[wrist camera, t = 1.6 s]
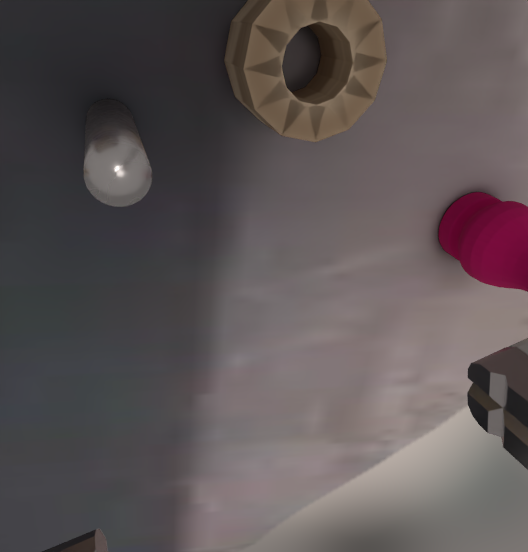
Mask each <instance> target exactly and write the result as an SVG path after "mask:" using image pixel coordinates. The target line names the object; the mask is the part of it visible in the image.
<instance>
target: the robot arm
mask: <svg viewBox="0 0 528 552" xmlns="http://www.w3.org/2000/svg"><path fill="white" fill-rule="evenodd" d="M468 378H469V379H470V380H471V381H472V382H473V384H472V386H471V388H470V389H469V391H468V406H469V408H470V410H471V413H472V415H473V417H474V418H475V420H476V421H477V422H478V424H479V425H480V426H481V427H482V428H483V429H484V430H485V431H486V432H488V433H490V434H493V435H497V436H499V437H501V438H502V443H503V447H504V448H505V449H506V450H507V451H508V452H509V453H510V454H511V455H512V456H513V457H514V458H515V459H516V460H518V461H519V462H520V463H521V464H522V465H523V466H524V467H525V468H526V469H527V470H528V338H527V339H525V340H522V341H520V342H518V343H516V344H513V345H511V346H509V347H506V348H503V349H501V350H499V351H497V352H495V353H493V354H490V355H488V356H486V357H484V358H482V359H479V360H477V361H475V362H473V363H471V365H470V366H469V368H468ZM42 552H108V551H107V541H106V538H105V536H104V535H103V533H102V532H101V530H100V529H96V530H93V531H91V532H89V533H86V534H84V535H81V536H79V537H76V538H74V539H72V540H69V541H67V542H64V543H62V544H59V545H57V546H55V547H52V548H50V549H47V550H45V551H42Z"/></svg>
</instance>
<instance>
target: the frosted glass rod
mask: <svg viewBox="0 0 528 552" xmlns="http://www.w3.org/2000/svg"><path fill="white" fill-rule="evenodd" d="M84 180H85V184H86V186H87V188H88V190H89V191H90V193H91V194H92V195H93V196H94V197H95V198H96V199H98V200H99V201H101V202H102V203H105V204H107V205H110V206H115V207H124V206H129V205H132V204H134V203H136V202H138V201H139V200H141V199H142V198H143V197H144V196H145V195H146V193H147V192H148V190H149V188H150V186H151V182H152V170H151V166H150V163H149V161H148V158H147V155H146V152H145V150H144V147H143V144H142V141H141V139H140V136H139V133H138V130H137V128H136V125H135V122H134V119H133V117H132V114H131V112H130V110H129V109H128V108H127V107H126V106H125V105H124V104H123V103H121V102H119V101H117V100H114V99H102V100H99V101H97V102H95V103H94V104H93V105H92V106H91V107H90V108H89V110H88V112H87V116H86V133H85V154H84Z"/></svg>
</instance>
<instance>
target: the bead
mask: <svg viewBox="0 0 528 552" xmlns="http://www.w3.org/2000/svg"><path fill="white" fill-rule="evenodd" d="M305 26H309V27H310V29H311V30H312V31H313V32H314V33H315V35H316V36H317V37H318V41H319V46H320V51H321V59H320V63H319V67H318V71H317V74H316V75H315V76H314V77H313V79H312V80H311V81H310V82H309V83H308V85H307V86H306V87H304V88H302V89H299V90H296V91H294V92H290V91H289V90H288V89H287V87H286V84H285V79H284V75H283V71H282V62H283V58H284V54H285V49H286V45H287V44H288V43H289V41H290V40H291V39H292V38H293V36H294V35H295V34H296V33H297V32H298V30H299V29H300V28H302V27H305ZM224 62H225V66H226V69H227V72H228V76H229V79H230V82H231V86H232V89H233V92H234V96H235V97H236V98H237V99H238V100H239V101H240V102H241V103H242V104H243V105H244V106H245V107H246V108H247V109H248V110H249V111H250V112H251V113H252V114H253V115H254V116H255V117H256V118H257V119H258V120H260V121H261V122H263V123H264V124H265V125H267V126H268V127H270V128H271V129H273V130H274V131H276V132H277V133H278V134H280V135H281V136H286V137H291V138H296V139H301V140H307V141H312V142H318V141H320V140H323V139H325V138H328V137H330V136H333V135H336V134H338V133H341V132H343V131H346V130H349V129H350V128H351V126H352V125H353V124H354V123H355V122H356V121H357V120H358V119H359V117H360V116H361V115H362V114H363V113H364V112H365V111H366V109H367V108H368V107H369V106H370V105H371V104H372V103H373V102H374V100H375V98H376V94H377V91H378V88H379V85H380V82H381V78H382V75H383V72H384V69H385V65H386V62H387V57H386V49H385V41H384V34H383V26H382V19H381V18H380V16H379V15H378V13H377V12H376V11H375V9H374V8H373V7H372V5H371V4H370V3H369V1H368V0H248V1H247V2H246V3H245V5H244V6H243V7H242V8H241V10H240V11H239V12H238V13H237V15H236V16H235V17H234V18H233V20H232V21H231V26H230V31H229V37H228V42H227V48H226V53H225V58H224Z"/></svg>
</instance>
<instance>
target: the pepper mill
mask: <svg viewBox="0 0 528 552" xmlns="http://www.w3.org/2000/svg"><path fill="white" fill-rule="evenodd" d="M438 236H439V241H440V244H441V246H442V248H443V249H444V250H445V251H446V252H447V253H449V254H450V255H452V256H453V257H455V258H456V259H458V260H459V261H460V263H461V265H462V267H463V269H464V270H465V271H466V272H467V273H468V274H469V275H470V276H472V277H473V278H475V279H477V280H479V281H480V282H483V283H486V284H489V285H493V286H497V287H504V288H514V289H522V290H525V291H527V292H528V207H527V206H525V205H523V204H521V203H518V202H513V201H504V202H502V201H500V200H499V199H497V198H495V197H493V196H491V195H488V194H486V193H482V192H475V193H470V194H467V195H465V196H462V197H461V198H460V199H458V200H457V201H455V202H454V203H453V204H452V205H451V206H450V207H449V208H448V210H447V211H446V213H445V214H444V216H443V218H442V221H441V223H440V226H439V235H438Z"/></svg>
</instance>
